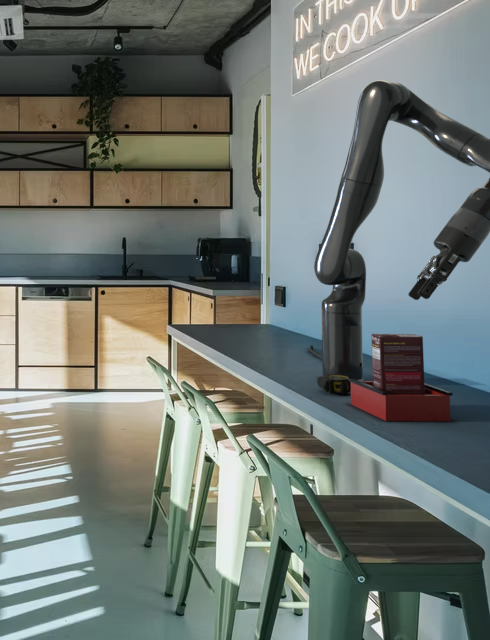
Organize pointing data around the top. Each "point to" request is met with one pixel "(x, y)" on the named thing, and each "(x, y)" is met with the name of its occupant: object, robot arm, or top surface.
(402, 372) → the supplement box
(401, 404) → the open red box
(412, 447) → the top surface
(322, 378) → the tape measure
